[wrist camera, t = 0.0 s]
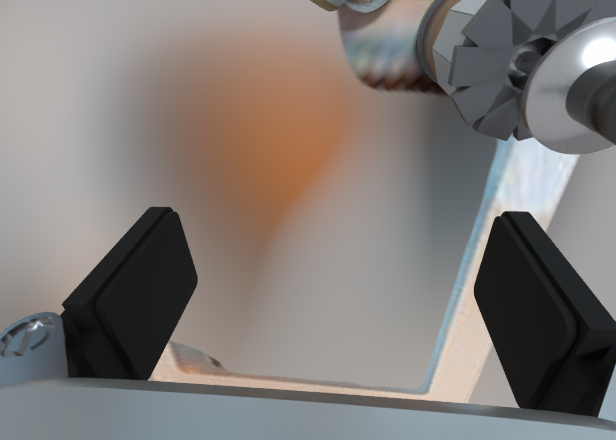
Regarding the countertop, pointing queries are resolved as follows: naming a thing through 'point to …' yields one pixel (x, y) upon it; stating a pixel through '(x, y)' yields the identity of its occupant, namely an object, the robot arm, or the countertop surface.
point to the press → (493, 52)
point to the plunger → (570, 88)
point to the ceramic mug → (350, 5)
